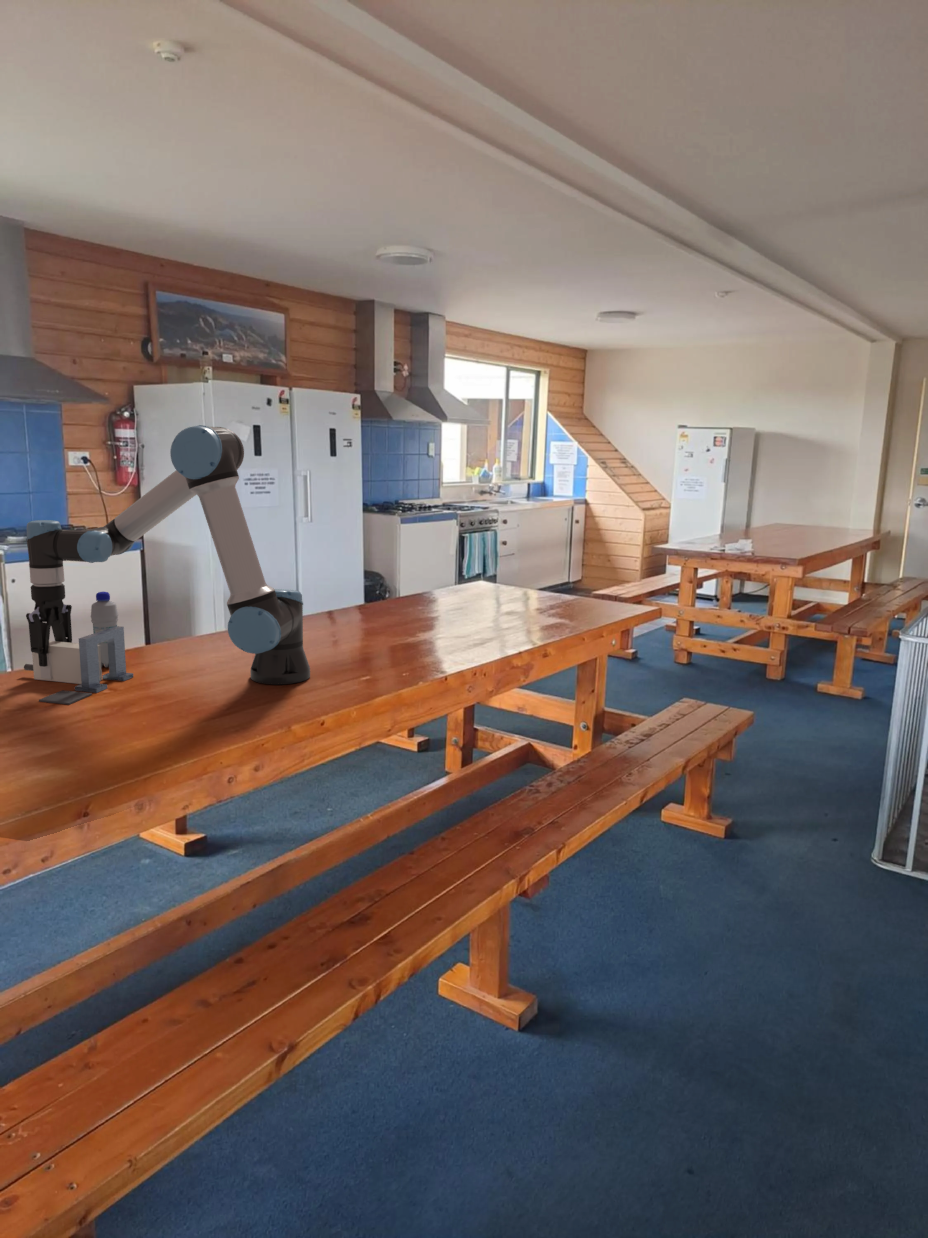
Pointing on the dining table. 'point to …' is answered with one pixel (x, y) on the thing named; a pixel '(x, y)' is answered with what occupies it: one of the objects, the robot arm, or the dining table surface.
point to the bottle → (103, 620)
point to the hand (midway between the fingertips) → (54, 675)
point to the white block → (62, 663)
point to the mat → (65, 697)
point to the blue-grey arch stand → (91, 663)
